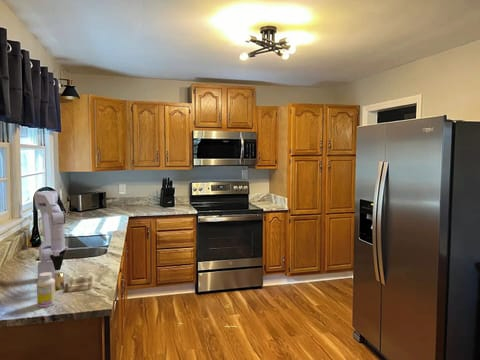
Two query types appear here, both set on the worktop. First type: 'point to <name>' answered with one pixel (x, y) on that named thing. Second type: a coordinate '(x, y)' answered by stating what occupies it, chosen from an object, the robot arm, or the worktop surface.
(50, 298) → the supplement bottle
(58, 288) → the brass round peg
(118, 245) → the worktop surface
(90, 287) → the jig
